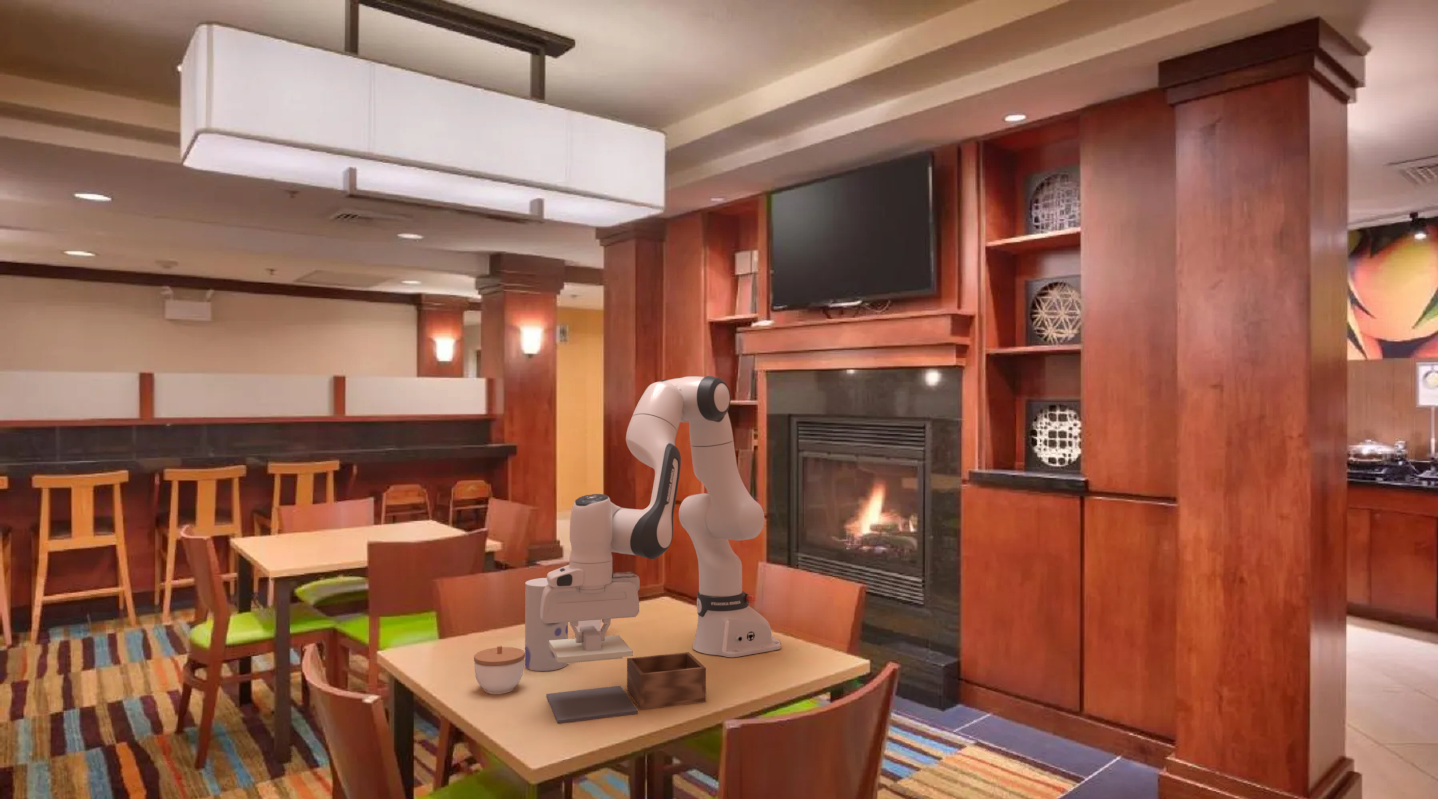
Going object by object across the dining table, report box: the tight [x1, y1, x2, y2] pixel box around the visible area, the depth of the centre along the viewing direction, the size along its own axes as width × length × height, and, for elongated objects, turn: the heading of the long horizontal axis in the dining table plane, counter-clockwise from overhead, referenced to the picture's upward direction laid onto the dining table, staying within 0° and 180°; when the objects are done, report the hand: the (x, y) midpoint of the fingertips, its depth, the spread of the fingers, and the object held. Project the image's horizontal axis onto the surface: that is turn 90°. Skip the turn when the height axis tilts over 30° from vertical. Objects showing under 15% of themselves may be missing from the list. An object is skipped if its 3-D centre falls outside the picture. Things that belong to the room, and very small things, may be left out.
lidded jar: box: [473, 645, 525, 695], centre depth 180 cm, size 11×11×9 cm
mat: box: [546, 685, 639, 724], centre depth 171 cm, size 16×16×1 cm
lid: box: [549, 626, 634, 664], centre depth 171 cm, size 15×13×5 cm
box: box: [626, 651, 707, 710], centre depth 176 cm, size 14×12×7 cm
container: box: [524, 577, 569, 672], centre depth 198 cm, size 10×10×20 cm
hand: (589, 641), depth 171 cm, fingers closed on lid, 3 cm apart
